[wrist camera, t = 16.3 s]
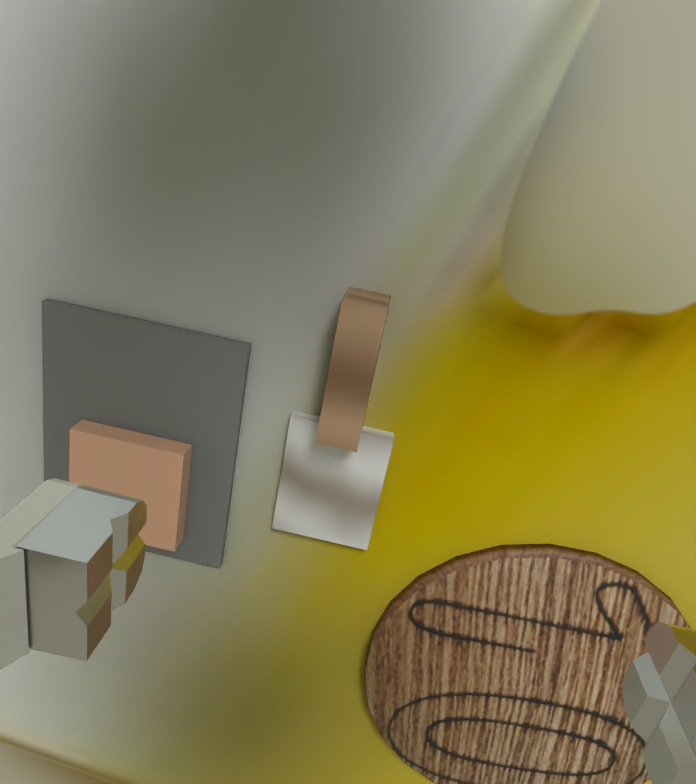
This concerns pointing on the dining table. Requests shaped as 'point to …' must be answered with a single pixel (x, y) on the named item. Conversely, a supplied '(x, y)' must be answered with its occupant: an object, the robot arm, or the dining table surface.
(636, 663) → the robot arm
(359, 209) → the dining table surface
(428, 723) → the trivet
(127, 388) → the mat
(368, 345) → the turner
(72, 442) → the tile
